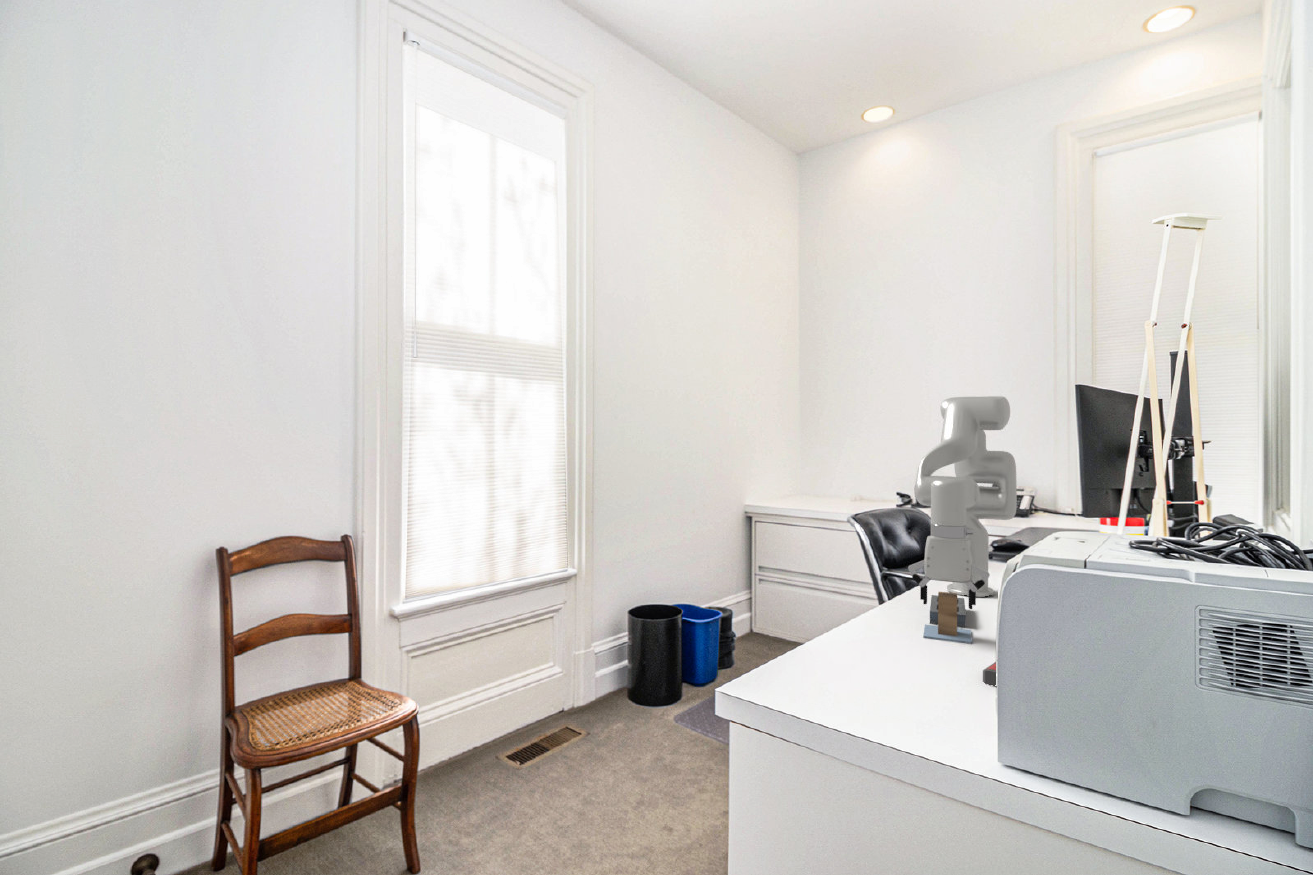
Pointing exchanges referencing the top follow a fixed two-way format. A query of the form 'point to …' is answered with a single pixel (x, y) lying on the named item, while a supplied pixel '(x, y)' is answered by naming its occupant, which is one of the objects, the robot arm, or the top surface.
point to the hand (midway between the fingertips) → (947, 605)
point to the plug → (947, 613)
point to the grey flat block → (960, 611)
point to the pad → (962, 635)
